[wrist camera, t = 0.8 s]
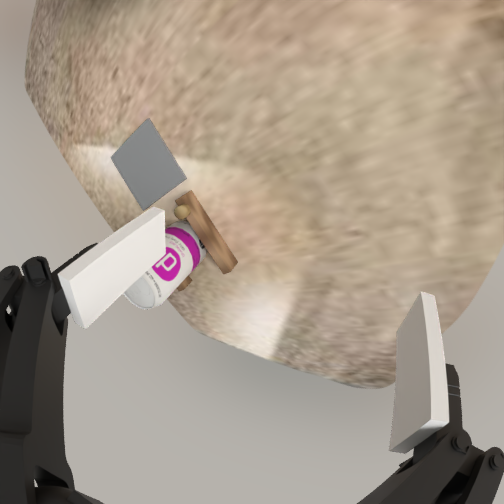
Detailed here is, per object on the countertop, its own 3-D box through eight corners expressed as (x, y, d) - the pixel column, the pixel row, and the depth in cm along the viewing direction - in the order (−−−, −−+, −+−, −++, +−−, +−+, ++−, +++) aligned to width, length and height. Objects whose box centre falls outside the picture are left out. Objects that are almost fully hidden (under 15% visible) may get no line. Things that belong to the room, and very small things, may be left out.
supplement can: (185, 210, 48) (126, 254, 36) (218, 247, 50) (168, 301, 38) (162, 234, 53) (107, 278, 41) (191, 268, 54) (143, 319, 42)
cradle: (145, 222, 53) (130, 232, 49) (192, 189, 46) (176, 199, 42) (187, 282, 56) (174, 296, 53) (239, 261, 49) (227, 276, 46)
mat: (112, 157, 48) (110, 157, 48) (149, 118, 42) (147, 118, 42) (144, 209, 52) (143, 210, 51) (186, 178, 45) (185, 179, 45)
